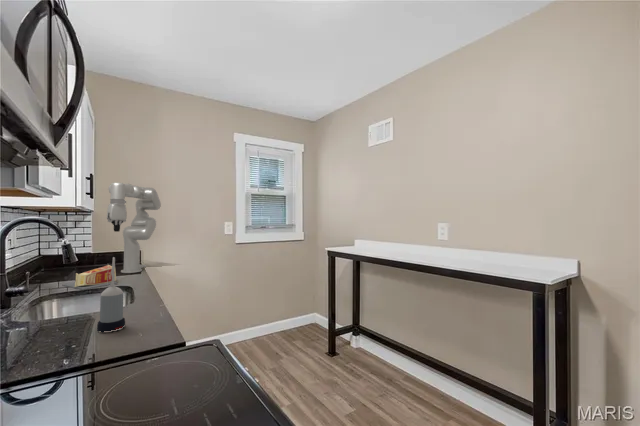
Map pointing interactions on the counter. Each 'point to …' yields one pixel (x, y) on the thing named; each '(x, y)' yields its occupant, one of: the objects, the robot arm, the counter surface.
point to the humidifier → (111, 306)
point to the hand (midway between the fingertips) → (116, 231)
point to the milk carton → (95, 276)
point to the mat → (87, 285)
